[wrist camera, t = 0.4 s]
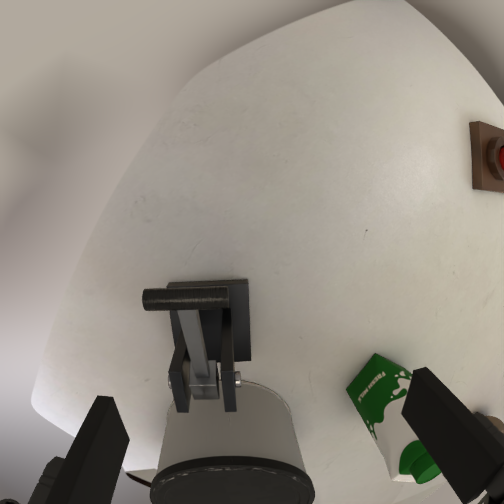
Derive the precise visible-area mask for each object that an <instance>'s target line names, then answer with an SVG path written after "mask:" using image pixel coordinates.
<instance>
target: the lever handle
mask: <svg viewBox="0 0 504 504" xmlns="http://www.w3.org/2000/svg"><path fill="white" fill-rule="evenodd" d="M142 302H143V307H144V309H145V310H146V311H171V310H177V311H178V315H179V319H180V323H181V327H182V330H183V334H184V338H185V342H186V345H187V349H188V352H189V356H190V359H191V361H190V368H189V387H190V390H191V393H192V395H193V398H194V400H214V399H220V396H219V374H218V368H217V362H216V360H210V361H208V358H207V353H206V348H205V343H204V338H203V333H202V328H201V322H200V317H199V311H198V310H206V309H228V308H229V297H228V286H214V287H189V288H156V289H144V291H143V295H142Z"/></svg>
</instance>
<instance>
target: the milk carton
mask: <svg viewBox="0 0 504 504" xmlns="http://www.w3.org/2000/svg"><path fill="white" fill-rule="evenodd" d="M411 378H412V374H411V373H410V372H409V371H407V370H406V369H405V368H403V367H401V366H399V365H397V364H395V363H393V362H391V361H389V360H387V359H386V358H384V357H382V356H380V355H378V354H376V353H375V354H374V356H373V357H372V358H371V360H370V361H369V362H368V363H367V365H366V366H365V367H364V368H363V370H362V371H361V372H360V373H359V374H358V376H357V377H356V378H355V379H354V381H353V382H352V383H351V384H350V385H349V386H348V388H347V389H346V391H347V392H348V394H349V396H350V398H351V400H352V401H353V403H354V405H355V407H356V409H357V410H358V412H359V414H360V415H361V417H362V419H363V421H364V423H365V424H366V426H367V428H368V430H369V432H370V433H371V435H372V437H373V439H374V441H375V442H376V444H377V446H378V448H379V450H380V452H381V453H382V455H383V457H384V459H385V462H386V465H387V468H388V471H389V474H390V477H391V480H392V481H405V482H416V483H417V484H423V483H426V482H428V481H430V480H432V479H433V478H435V477H436V476H438V475H439V474H440V473H441V471H440V469H439V468H438V466H437V465H436V463H435V462H434V460H433V459H432V457H431V456H430V455H429V453H428V452H427V450H426V449H425V447H424V446H423V444H422V443H421V442H420V440H419V439H418V437H417V436H416V434H415V433H414V432H413V430H412V429H411V427H410V426H409V424H408V423H407V422H406V420H405V419H404V417H403V416H402V415H401V411H402V408H403V405H404V402H405V399H406V395H407V392H408V388H409V385H410V381H411Z"/></svg>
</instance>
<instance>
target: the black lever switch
mask: <svg viewBox="0 0 504 504" xmlns="http://www.w3.org/2000/svg"><path fill="white" fill-rule="evenodd" d="M214 286H228V297H229V308H228V309H206V310H198V311H199V317H200V322H201V328H202V333H203V338H204V343H205V348H206V353H207V358H208V361H210V360H216V362H221V370H220V372H221V382H222V391H223V400H224V409H225V412H237V404H236V388H240V387H241V374H240V371H236V372H235V367H234V362H240V361H251V344H250V317H249V289H248V280H247V279H244V280H223V281H199V282H172V283H169V284H168V285H167V288H189V287H214ZM170 318H171V325H172V332H173V338H174V345H175V350H174V354H173V357H172V361H171V364H170V368H169V371H168V373H169V375H168V384H169V388H170V389H172V392H173V397H174V401H175V406H176V410H177V413H189V407H190V399H191V390H190V387H189V368H190V361H191V359H190V356H189V352H188V349H187V345H186V342H185V338H184V334H183V330H182V327H181V323H180V319H179V315H178V311H177V310H171V311H170Z"/></svg>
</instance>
